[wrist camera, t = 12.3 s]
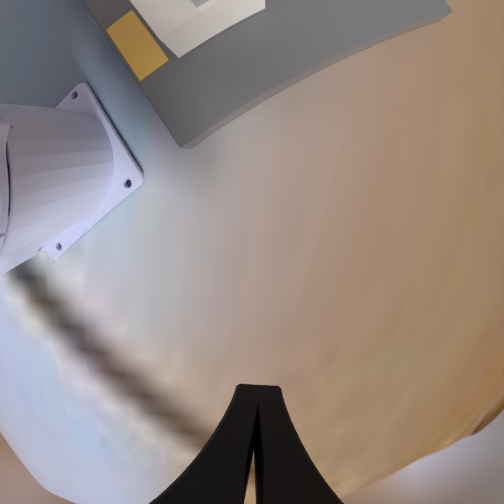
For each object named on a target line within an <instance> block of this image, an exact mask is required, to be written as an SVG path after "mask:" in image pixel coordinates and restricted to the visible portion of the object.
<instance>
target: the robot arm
mask: <svg viewBox="0 0 504 504" xmlns="http://www.w3.org/2000/svg"><path fill="white" fill-rule="evenodd" d="M76 93H78V95H77V98H76V99H75V94H76ZM128 179H129V180H131V183H132V184H131V187H128V186H127V184H126V182H127V180H128ZM143 181H144V175H143V172H142V171H141V169H140V168H139V166H138V165H137V163H136V162H135V160H134V158H133V157H132V155H131V154H130V152H129V151H128V149H127V147H126V146H125V144H124V143H123V141H122V140H121V138H120V136H119V135H118V133H117V132H116V130H115V128H114V127H113V125H112V123H111V122H110V120H109V119H108V117H107V115H106V114H105V112H104V110H103V109H102V107H101V105H100V104H99V102H98V100H97V99H96V97H95V95H94V94H93V92H92V90H91V89H90V87H89V85H88V84H87V83H83V82H81V83H79V84H77V85H76V86H75V87H74V88H73V89H72V90H71V91H70V92H69V94H68V95H67V96H66V97H65V98H64V99H63V100H62V101H61V102H60V103H59V104H58V105H57V106H56V107H55V108H50V107H41V106H30V105H18V104H4V103H0V275H2V274H4V273H5V272H7V271H9V270H10V269H12V268H14V267H16V266H17V265H19V264H21V263H23V262H24V261H26V260H28V259H30V258H32V257H33V256H35V255H37V254H39V253H41V252H43V251H45V253H46V254H47V256H48V257H49V259H50V260H52V261H54V260H56V259H58V258H59V257H60V256H61V255H62V254H63V253H64V252H65V251H66V250H67V249H68V248H69V247H70V246H71V245H72V244H73V243H74V242H75V241H76V240H78V239H79V238H80V237H81V236H82V235H83V234H84V233H85V232H86V231H87V230H88V229H89V228H91V227H92V226H93V225H94V224H95V223H96V222H97V221H98V220H99V219H101V218H102V217H103V216H104V215H105V214H106V213H107V212H109V211H110V210H111V209H112V208H113V207H114V206H116V205H117V204H118V203H119V202H120V201H122V200H123V199H124V198H125V197H126V196H128V195H129V194H130V193H131V192H133V191H134V190H135V189H136V188H137V187H139V186H140V185H141V184H142V183H143ZM59 243H60V244H61V246H62V248H61V247H60V246H59ZM253 452H254V465H255V489H256V504H344V503H343V502H341V500H340V499H339V498H338V497H337V495H336V494H335V493H334V492H333V490H332V489H331V488H330V487H329V485H328V484H327V483H326V481H325V480H324V478H323V477H322V476H321V474H320V473H319V471H318V470H317V468H316V467H315V465H314V463H313V462H312V460H311V458H310V457H309V455H308V453H307V452H306V450H305V448H304V446H303V444H302V442H301V440H300V438H299V436H298V434H297V432H296V430H295V428H294V426H293V423H292V421H291V419H290V416H289V414H288V411H287V408H286V405H285V402H284V399H283V395H282V391H281V388H280V387H279V386H268V385H251V384H239V385H237V386H236V389H235V393H234V395H233V398H232V400H231V402H230V405H229V407H228V409H227V411H226V412H225V414H224V416H223V418H222V420H221V421H220V423H219V425H218V426H217V428H216V430H215V431H214V433H213V434H212V436H211V437H210V439H209V440H208V442H207V443H206V444H205V446H204V447H203V449H202V450H201V451H200V453H199V454H198V455H197V457H196V458H195V459H194V460H193V461H192V463H191V464H190V465H189V466H188V467H187V468H186V469H185V471H184V472H183V473H182V474H181V475H180V476H179V477H178V478H177V479H176V480H175V481H174V482H173V483H172V484H171V485H170V486H169V487H168V488H167V489H166V490H165V491H164V492H162V493H161V494H160V495H159V496H158V497H157V498H155V499H154V500H153V501H152V502H150V503H149V504H244V500H245V495H246V490H247V484H248V479H249V474H250V468H251V463H252V457H253Z"/></svg>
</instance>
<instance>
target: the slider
mask: <svg viewBox="0 0 504 504" xmlns="http://www.w3.org/2000/svg"><path fill="white" fill-rule="evenodd" d="M130 1H131V3H132V4H133V5H134V7H135V8H136V9H137V10H138V12H139V13H140V14H141V16H142V17H143V18H144V20H145V21H146V22H147V23H148V25H149V26H150V27H151V29H152V30H153V31H154V33H155V34H156V35H157V37H158V38H159V39H160V40H161V41H162V42H163V43H164V44H165V45H166V46H167V47H168V48H169V49H170V50H171V51H172V52H173V53H174V54H175V55H176V56H177V57H178V58H180V57H182V56H183V55H185V54H186V53H188V52H189V51H191V50H192V49H194V48H195V47H197V46H198V45H200V44H202V43H203V42H205V41H206V40H208V39H210V38H211V37H213V36H215V35H216V34H218V33H220V32H221V31H223V30H225V29H227V28H228V27H230V26H232V25H234V24H236V23H238V22H239V21H241V20H243V19H245V18H247V17H249V16H251V15H253V14H255V13H257V12H259V11H261V10H263V9H265V0H130Z"/></svg>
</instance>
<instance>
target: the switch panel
mask: <svg viewBox="0 0 504 504" xmlns="http://www.w3.org/2000/svg"><path fill="white" fill-rule="evenodd" d="M83 2H84V3H85V5H86V6H87V8H88V9H89V11H90V12H91V14H92V16H93V17H94V19H95V20H96V22H97V23H98V25H99V26H100V28H101V29H102V31H103V32H104V34H105V35H106V37H107V38H108V40H109V41H110V43H111V44H112V46H113V47H114V49H115V50H116V52H117V53H118V55H119V56H120V58H121V59H122V61H123V62H124V64H125V65H126V67H127V68H128V70H129V71H130V73H131V74H132V76H133V77H134V79H135V80H136V82H137V83H138V85H139V86H140V88H141V89H142V91H143V92H144V94H145V95H146V97H147V99H148V100H149V102H150V103H151V105H152V106H153V108H154V109H155V111H156V112H157V114H158V115H159V117H160V118H161V120H162V121H163V123H164V124H165V126H166V127H167V129H168V130H169V132H170V133H171V135H172V136H173V138H174V139H175V141H176V142H177V144H178V145H179V147H180V148H192V147H193V146H195V145H196V144H198V143H199V142H200V141H202V140H203V139H205V138H206V137H208V136H209V135H211V134H212V133H214V132H215V131H217V130H218V129H220V128H221V127H223V126H224V125H226V124H227V123H229V122H231V121H232V120H234V119H235V118H237V117H238V116H240V115H242V114H243V113H245V112H246V111H248V110H250V109H251V108H253V107H255V106H256V105H258V104H260V103H261V102H263V101H265V100H266V99H268V98H270V97H272V96H273V95H275V94H277V93H279V92H280V91H282V90H284V89H286V88H287V87H289V86H291V85H293V84H295V83H297V82H298V81H300V80H302V79H304V78H306V77H308V76H310V75H312V74H314V73H316V72H318V71H320V70H322V69H324V68H326V67H328V66H330V65H332V64H334V63H336V62H338V61H340V60H342V59H344V58H346V57H348V56H351V55H353V54H355V53H357V52H359V51H362V50H364V49H366V48H369V47H371V46H373V45H376V44H378V43H380V42H383V41H385V40H388V39H390V38H393V37H395V36H398V35H401V34H403V33H406V32H409V31H411V30H414V29H417V28H420V27H423V26H425V25H428V24H431V23H435V22H438V21H439V20H441V19H442V18H444V17H445V16H447V15H448V14H450V13H451V12H452V10H451V9H450V7H449V6H448V5H447V3H446V2H445V1H444V0H265V9H263V10H261V11H259V12H257V13H255V14H253V15H251V16H249V17H247V18H245V19H243V20H241V21H239V22H238V23H236V24H234V25H232V26H230V27H228V28H227V29H225V30H223V31H221V32H220V33H218V34H216V35H215V36H213V37H211V38H210V39H208V40H206V41H205V42H203V43H202V44H200V45H198V46H197V47H195V48H194V49H192V50H191V51H189V52H188V53H186V54H185V55H183V56H182V57H180V58H178V57H177V56H176V55H175V54H174V53H173V52H172V51H171V50H170V49H169V48H168V47H167V46H166V45H165V44H164V43H163V42H162V41H161V40H160V39H159V38H158V37H157V35H156V34H155V33H154V31H153V30H152V29H151V27H150V26H149V25H148V23H147V22H146V21H145V20H144V18H143V17H142V16H141V14H140V13H139V12H138V10H137V9H136V8H135V7H134V5H133V4H132V3H131V1H130V0H83Z"/></svg>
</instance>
